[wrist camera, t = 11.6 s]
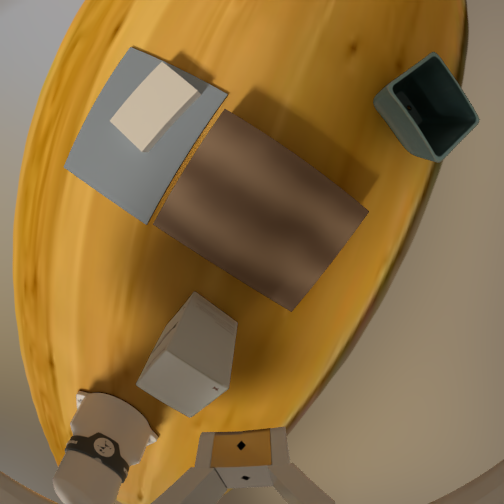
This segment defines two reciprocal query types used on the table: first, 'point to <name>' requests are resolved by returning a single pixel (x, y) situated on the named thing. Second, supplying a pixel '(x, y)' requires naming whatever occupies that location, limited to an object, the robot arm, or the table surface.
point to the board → (259, 211)
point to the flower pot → (427, 109)
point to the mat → (125, 152)
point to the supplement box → (191, 357)
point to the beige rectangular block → (154, 107)
